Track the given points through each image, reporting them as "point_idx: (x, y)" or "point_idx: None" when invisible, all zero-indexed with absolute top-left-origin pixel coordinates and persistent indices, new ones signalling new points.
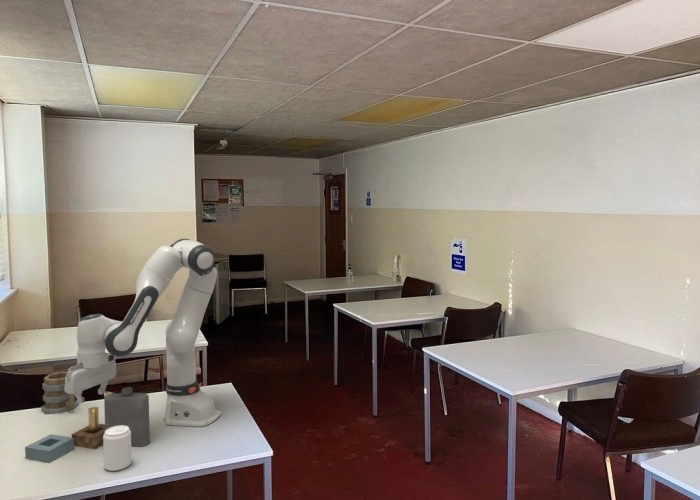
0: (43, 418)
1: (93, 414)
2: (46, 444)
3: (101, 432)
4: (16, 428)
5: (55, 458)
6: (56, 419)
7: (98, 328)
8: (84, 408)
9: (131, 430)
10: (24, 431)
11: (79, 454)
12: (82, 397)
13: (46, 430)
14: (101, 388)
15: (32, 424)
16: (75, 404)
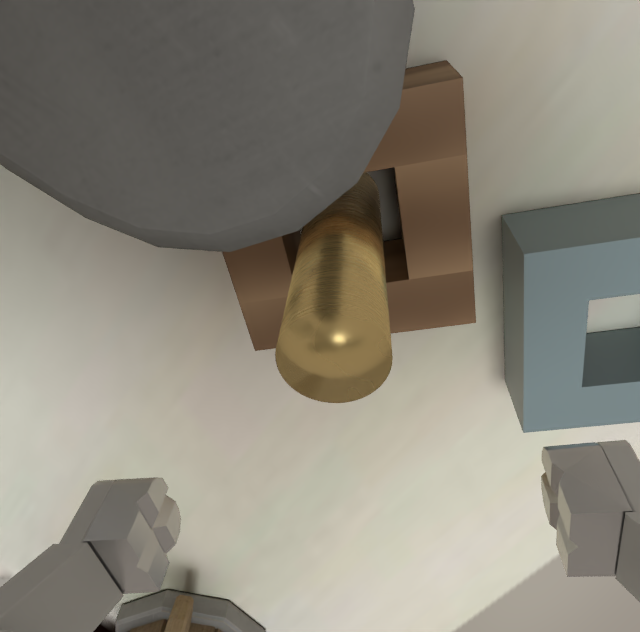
0: (299, 609)
1: (367, 290)
2: (607, 363)
3: None
4: (423, 615)
5: None
6: (273, 570)
7: None
8: None
9: None
10: (431, 578)
11: (562, 93)
12: (589, 534)
13: (378, 524)
14: (105, 579)
15: (363, 601)
16: (142, 612)
